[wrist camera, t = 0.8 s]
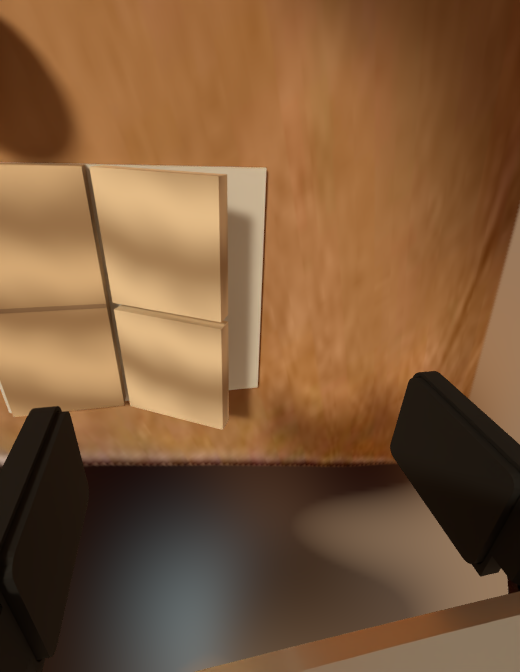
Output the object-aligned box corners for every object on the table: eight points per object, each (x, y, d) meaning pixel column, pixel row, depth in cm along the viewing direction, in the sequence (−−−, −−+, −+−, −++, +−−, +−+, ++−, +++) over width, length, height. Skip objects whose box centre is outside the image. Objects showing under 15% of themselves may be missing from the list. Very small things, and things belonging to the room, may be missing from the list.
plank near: (103, 165, 22) (89, 166, 21) (227, 174, 20) (218, 176, 19) (123, 296, 26) (112, 302, 25) (228, 314, 24) (220, 322, 23)
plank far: (124, 302, 27) (113, 309, 26) (228, 321, 25) (221, 329, 24) (138, 397, 31) (130, 405, 30) (228, 419, 29) (222, 429, 28)
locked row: (-69, 161, 21) (-82, 163, 20) (85, 164, 22) (81, 166, 21) (19, 406, 29) (13, 417, 28) (125, 396, 31) (124, 405, 30)
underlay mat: (-82, 160, 21) (-86, 161, 20) (265, 167, 25) (266, 168, 25) (11, 409, 30) (9, 413, 29) (256, 384, 34) (257, 387, 33)
